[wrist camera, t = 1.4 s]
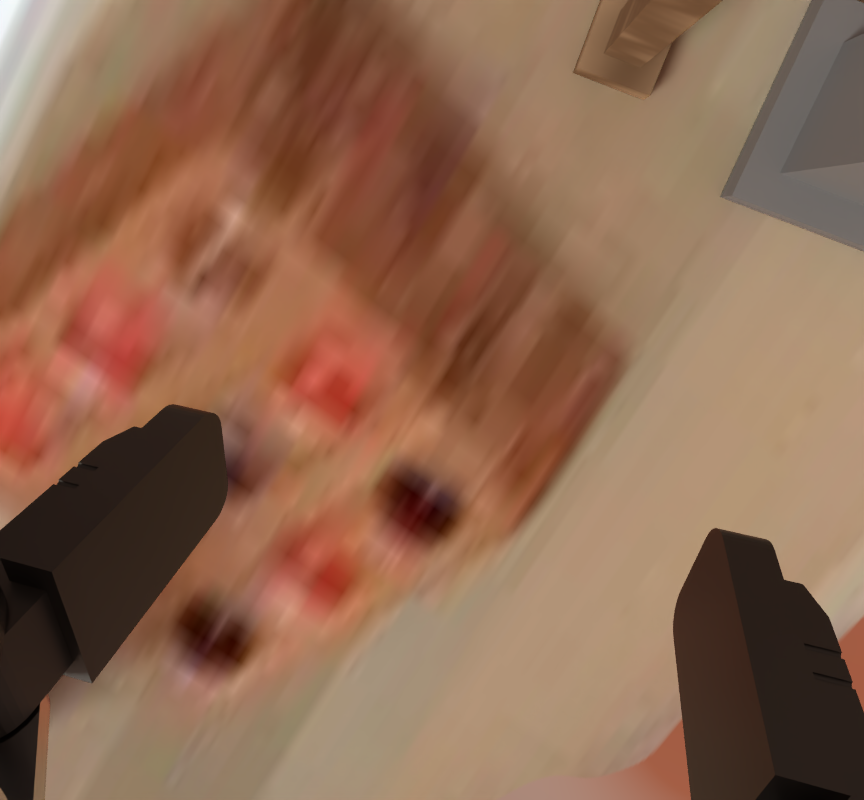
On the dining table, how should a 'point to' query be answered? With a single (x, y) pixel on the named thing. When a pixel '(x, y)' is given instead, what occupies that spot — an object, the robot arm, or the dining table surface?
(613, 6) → the height gauge
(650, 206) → the dining table surface
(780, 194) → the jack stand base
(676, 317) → the dining table surface
